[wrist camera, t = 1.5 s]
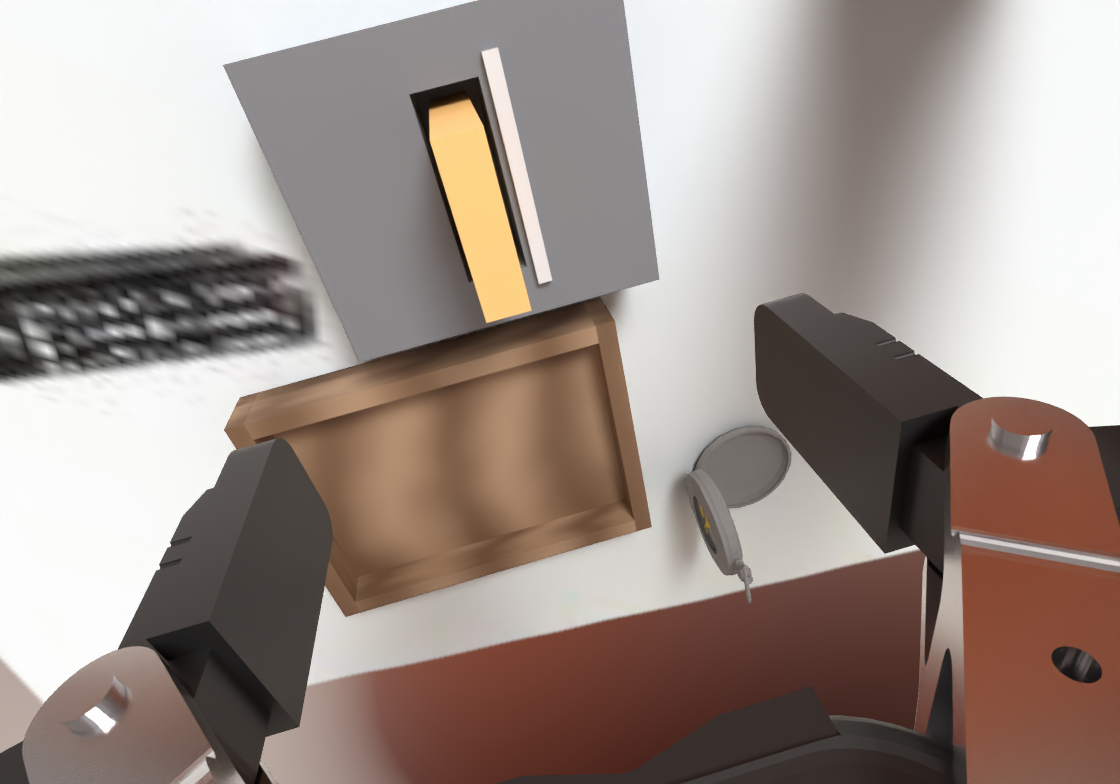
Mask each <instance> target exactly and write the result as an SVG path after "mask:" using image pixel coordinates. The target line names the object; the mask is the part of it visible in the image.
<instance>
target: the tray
mask: <svg viewBox="0 0 1120 784" xmlns="http://www.w3.org/2000/svg"><path fill="white" fill-rule="evenodd" d="M224 431H225V432H226V434H227V435H228V437H229V438H230V440H231V441H232V443H233V444H234V446H235V448H236V449H237V450H238V449H241V448H245V447H248V446H252V445H256V444H259V443H263V442H266V441H270V440H273V439H277V438H282V439H284V440H286V441H287V442H288V443H289V444H290V446H291V447H292V449H293V450H294V452H295V454H296V455H297V457H298V459H299V460H300V462H301V464H302V466H303V467H304V469H305V471H306V472H307V474H308V476H309V478H310V479H311V481H312V483H313V484H314V486H315V488H316V490H317V491H318V493H319V495H320V496H321V498H322V500H323V502H324V503H325V505H326V507H327V510H328V512H329V515H330V519H331V523H332V530H333V541H332V548H331V553H330V559H329V564H328V570H327V575H326V581H325V586H326V587H327V589H328V590H329V592H330V594H331V595H332V597H333V598H334V600H335V601H336V603H337V604H338V606H339V607H340V609H341V610H342V612H343V614H344V615H345V617H347V616H350V615H354V614H357V613H361V612H364V611H367V610H371V609H374V608H378V607H381V606H384V605H388V604H391V603H395V602H398V601H401V600H405V599H408V598H412V597H415V596H418V595H422V594H425V593H429V592H432V591H435V590H439V589H442V588H446V587H449V586H452V585H456V584H459V583H463V582H466V581H469V580H473V579H476V578H480V577H483V576H486V575H490V574H493V573H497V572H500V571H503V570H507V569H510V568H513V567H517V566H520V565H524V564H527V563H530V562H534V561H537V560H541V559H544V558H547V557H551V556H554V555H558V554H561V553H564V552H568V551H571V550H575V549H578V548H581V547H585V546H588V545H592V544H595V543H598V542H602V541H605V540H609V539H612V538H615V537H619V536H622V535H626V534H629V533H632V532H636V531H639V530H643V529H646V528H649V527H652V526H651V521H650V515H649V510H648V504H647V498H646V493H645V487H644V482H643V476H642V471H641V465H640V460H639V454H638V448H637V443H636V437H635V432H634V426H633V421H632V415H631V410H630V404H629V398H628V393H627V387H626V382H625V376H624V371H623V365H622V359H621V354H620V348H619V343H618V337H617V332H616V326H615V321H614V319H613V318H612V316H611V314H610V313H609V311H608V309H607V308H606V306H605V305H604V303H603V301H602V300H601V298H598V299H595V300H591V301H587V302H584V303H580V304H577V305H573V306H569V307H566V308H562V309H559V310H555V311H551V312H548V313H544V314H540V315H537V316H533V317H530V318H526V319H522V320H519V321H515V322H512V323H508V324H504V325H501V326H497V327H494V328H490V329H486V330H483V331H479V332H475V333H472V334H468V335H465V336H461V337H457V338H454V339H450V340H447V341H443V342H439V343H436V344H432V345H429V346H425V347H421V348H418V349H414V350H411V351H407V352H403V353H400V354H396V355H392V356H389V357H385V358H382V359H378V360H374V361H371V362H367V363H364V364H360V365H356V366H353V367H349V368H346V369H342V370H338V371H335V372H331V373H327V374H324V375H320V376H317V377H313V378H309V379H306V380H302V381H299V382H295V383H291V384H288V385H284V386H281V387H277V388H273V389H270V390H266V391H262V392H259V393H255V394H252V395H248V396H244V397H241V398H239V400H238V402H237V404H236V406H235V408H234V411H233V413H232V415H231V417H230V419H229V421H228V423H227V425H226V427H225V429H224Z"/></svg>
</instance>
